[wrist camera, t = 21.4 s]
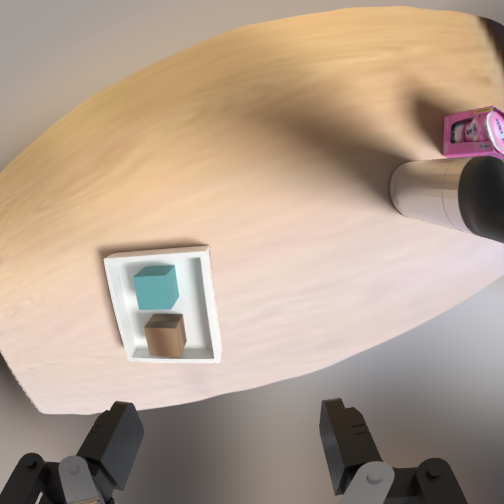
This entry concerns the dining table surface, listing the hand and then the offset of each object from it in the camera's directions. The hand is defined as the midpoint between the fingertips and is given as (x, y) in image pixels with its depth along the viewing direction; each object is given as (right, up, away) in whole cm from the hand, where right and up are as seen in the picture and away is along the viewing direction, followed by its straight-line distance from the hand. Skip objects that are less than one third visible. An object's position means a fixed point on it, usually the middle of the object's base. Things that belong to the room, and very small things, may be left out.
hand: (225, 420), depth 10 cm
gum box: (+46, +26, +29) cm, 60 cm away
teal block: (-13, +2, +32) cm, 35 cm away
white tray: (-12, -1, +34) cm, 36 cm away
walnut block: (-12, -5, +34) cm, 37 cm away
